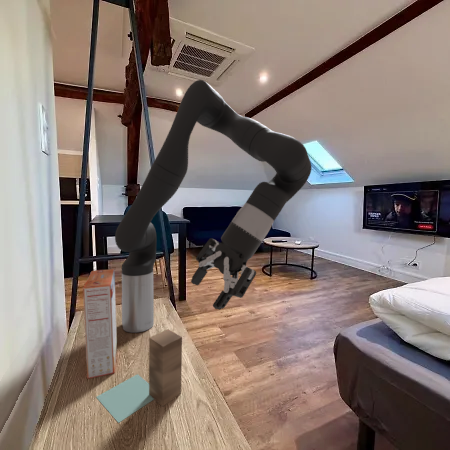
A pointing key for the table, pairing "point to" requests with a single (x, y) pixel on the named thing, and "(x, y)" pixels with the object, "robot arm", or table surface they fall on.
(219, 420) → the table surface
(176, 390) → the walnut block
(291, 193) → the robot arm
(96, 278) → the cracker box
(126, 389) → the felt mat
